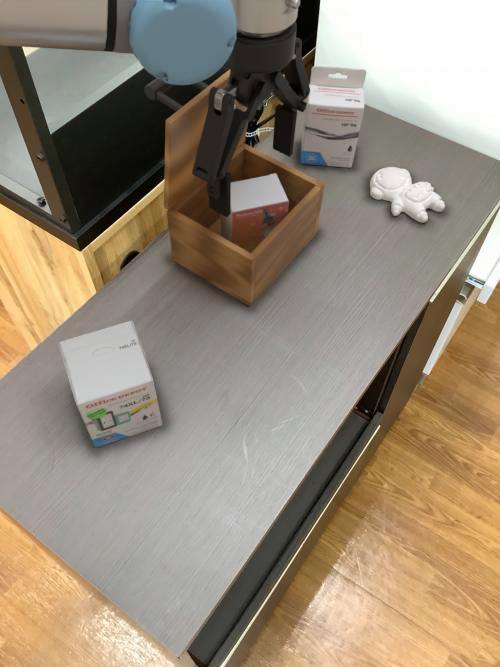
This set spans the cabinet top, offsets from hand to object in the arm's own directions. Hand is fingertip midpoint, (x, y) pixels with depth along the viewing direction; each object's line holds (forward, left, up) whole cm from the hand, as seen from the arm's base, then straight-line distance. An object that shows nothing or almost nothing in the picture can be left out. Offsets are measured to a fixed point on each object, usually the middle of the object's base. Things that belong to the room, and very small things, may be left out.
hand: (252, 180), depth 79 cm
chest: (-1, +1, -14) cm, 14 cm away
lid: (-6, +3, +4) cm, 8 cm away
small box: (0, 0, -13) cm, 13 cm away
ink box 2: (+9, +22, -14) cm, 27 cm away
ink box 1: (-11, -28, -14) cm, 33 cm away
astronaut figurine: (+22, +15, -14) cm, 30 cm away
